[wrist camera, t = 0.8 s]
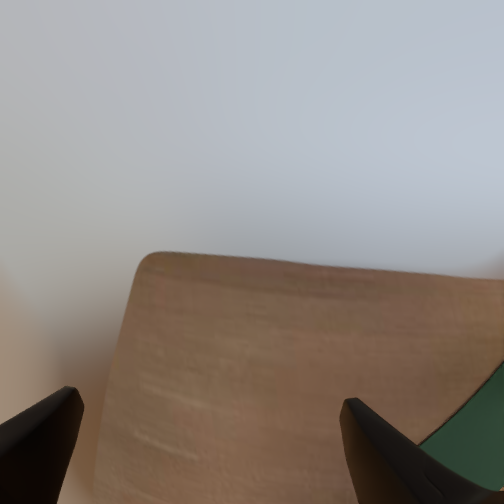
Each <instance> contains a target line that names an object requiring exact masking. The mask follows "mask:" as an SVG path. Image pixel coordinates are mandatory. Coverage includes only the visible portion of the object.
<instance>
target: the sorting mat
mask: <svg viewBox="0 0 504 504" xmlns="http://www.w3.org/2000/svg"><path fill="white" fill-rule="evenodd" d="M418 447H420V448H421V449H422V450H424V451H425V452H426V453H427V455H428V454H429V455H430V456H432V457H433V458H434V459H436V460H437V461H438V462H440V463H441V464H443V465H444V466H446V467H447V468H449V469H450V470H452V471H454V472H455V473H457V474H459V475H461V476H463V477H464V478H466V479H468V480H470V481H472V482H474V483H476V484H478V485H479V486H481V487H484V488H486V489H489V490H494V491H499V490H500V489H501V488H502V487H503V486H504V362H503V363H502V365H501V366H500V367H499V368H498V369H497V371H496V372H495V373H494V374H493V375H492V377H491V378H490V379H489V380H488V381H487V382H486V383H485V384H484V386H483V387H482V388H481V389H480V390H479V391H478V392H477V393H476V394H475V395H474V396H473V397H472V398H471V399H470V400H469V401H468V402H467V403H466V404H465V405H464V406H463V407H462V408H461V409H460V410H459V411H458V412H457V413H456V414H455V415H454V416H453V417H452V418H451V419H450V420H449V421H448V422H447V423H445V424H444V425H443V426H442V427H441V428H440V429H439V430H438V431H436V432H435V433H434V434H433V435H432V436H430V437H429V438H428V439H427V440H426V441H424V442H423V443H422V444H421V445H419V446H418Z"/></svg>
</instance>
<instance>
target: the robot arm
mask: <svg viewBox="0 0 504 504" xmlns="http://www.w3.org/2000/svg"><path fill="white" fill-rule="evenodd" d="M83 412H84V403H83V401H82V399H81V396H80V394H79V392H78V390H77V389H76V388H75V387H70V386H65V387H63V388H61V389H60V390H58V391H56V392H55V393H53V394H51V395H50V396H48V397H47V398H45V399H43V400H41V401H40V402H38V403H36V404H35V405H33V406H32V407H30V408H28V409H26V410H25V411H23V412H21V413H19V414H18V415H16V416H15V417H13V418H11V419H9V420H8V421H6V422H4V423H2V424H1V425H0V504H57V501H58V498H59V494H60V491H61V487H62V484H63V481H64V478H65V474H66V471H67V468H68V465H69V462H70V459H71V456H72V453H73V450H74V447H75V444H76V441H77V437H78V432H79V428H80V424H81V420H82V416H83ZM340 426H341V432H342V438H343V444H344V451H345V456H346V461H347V465H348V468H349V471H350V475H351V478H352V481H353V485H354V488H355V492H356V495H357V499H358V502H359V504H504V491H494V490H489V489H486V488H484V487H481V486H479V485H478V484H476V483H474V482H472V481H470V480H468V479H466V478H464V477H463V476H461V475H459V474H457V473H455V472H454V471H452V470H450V469H449V468H447V467H446V466H444V465H443V464H441V463H440V462H438V461H437V460H436V459H434V458H433V457H432V456H430V455H429V454H428V455H427V453H426V452H425V451H424V450H422V449H421V448H420V447H418V446H417V445H416V444H415V443H413V442H412V441H411V440H409V439H408V438H407V437H406V436H404V435H403V434H402V433H400V432H399V431H398V430H397V429H395V428H394V427H393V426H392V425H390V424H389V423H388V422H387V421H385V420H384V419H383V418H382V417H380V416H379V415H378V414H377V413H375V412H374V411H373V410H372V409H371V408H369V407H368V406H367V405H366V404H364V403H363V402H362V401H361V400H360V399H358V398H348V399H345V400H344V402H343V406H342V409H341V413H340Z"/></svg>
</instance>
